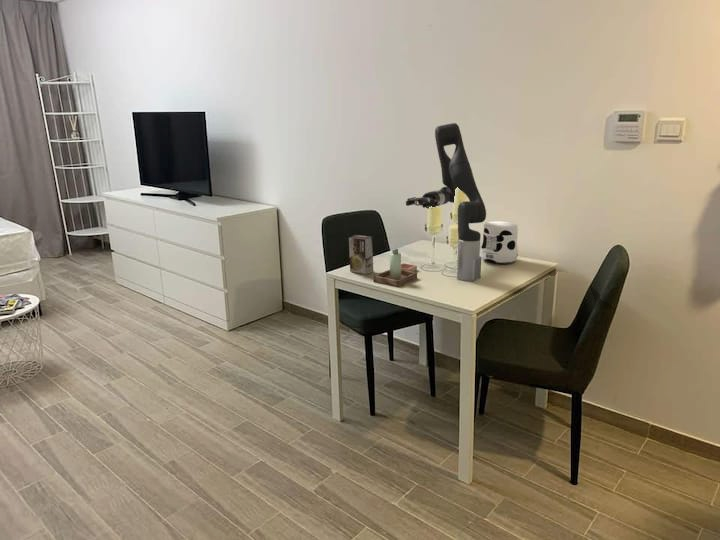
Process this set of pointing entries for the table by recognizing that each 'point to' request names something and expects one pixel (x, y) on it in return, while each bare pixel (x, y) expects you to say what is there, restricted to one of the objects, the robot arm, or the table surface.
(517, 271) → the table surface
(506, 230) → the cow print rice cooker
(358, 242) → the coffee box
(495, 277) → the table surface
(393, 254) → the bottle
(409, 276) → the tray
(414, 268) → the holder
